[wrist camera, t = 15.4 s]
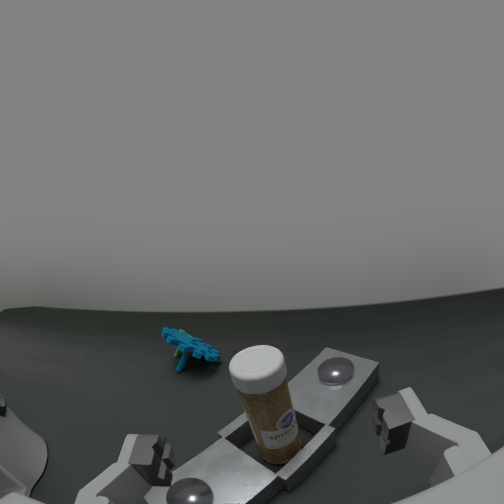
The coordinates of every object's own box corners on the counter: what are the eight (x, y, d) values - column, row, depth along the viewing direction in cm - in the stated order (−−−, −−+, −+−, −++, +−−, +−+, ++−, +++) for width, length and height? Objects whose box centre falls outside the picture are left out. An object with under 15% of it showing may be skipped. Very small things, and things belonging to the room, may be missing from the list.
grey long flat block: (203, 559, 15) (188, 550, 14) (149, 498, 22) (133, 483, 21) (384, 381, 33) (385, 360, 32) (323, 361, 40) (320, 342, 39)
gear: (231, 360, 43) (169, 336, 39) (214, 393, 42) (153, 372, 38) (210, 337, 53) (160, 316, 49) (197, 365, 52) (146, 346, 48)
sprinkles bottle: (291, 470, 24) (266, 383, 20) (253, 459, 27) (216, 371, 23) (309, 438, 28) (292, 346, 24) (272, 430, 30) (245, 339, 26)
